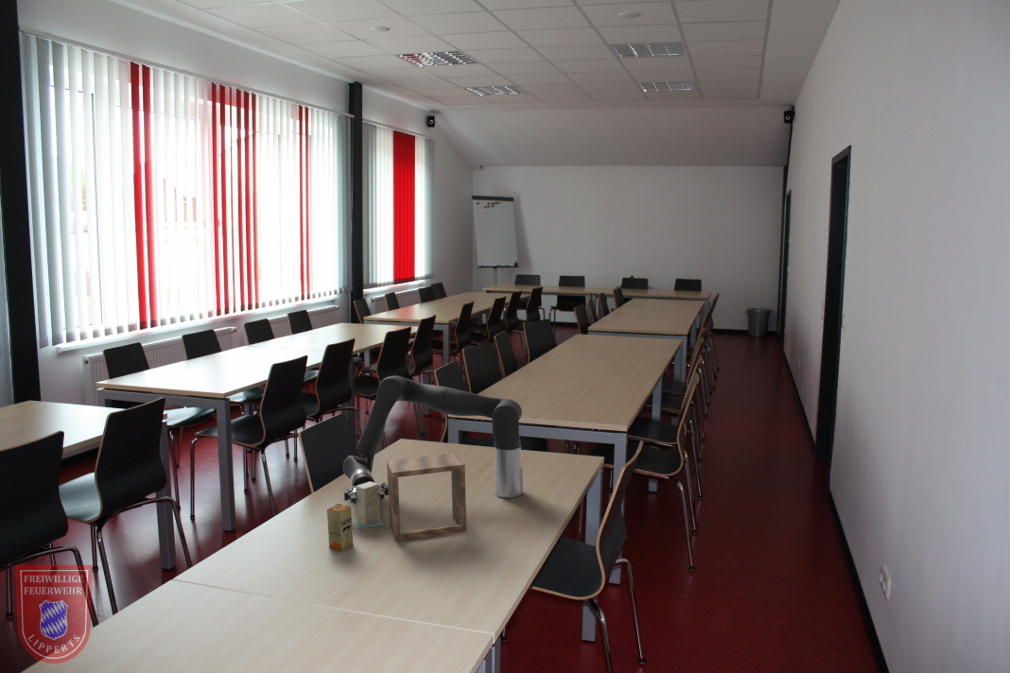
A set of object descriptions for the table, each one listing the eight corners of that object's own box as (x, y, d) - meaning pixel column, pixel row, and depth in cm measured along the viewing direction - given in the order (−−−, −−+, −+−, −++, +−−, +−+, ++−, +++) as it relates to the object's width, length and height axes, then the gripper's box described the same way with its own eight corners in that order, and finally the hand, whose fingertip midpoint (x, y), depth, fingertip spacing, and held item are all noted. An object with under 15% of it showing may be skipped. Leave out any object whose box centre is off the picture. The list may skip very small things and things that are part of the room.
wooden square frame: (457, 516, 237) (455, 452, 234) (466, 531, 226) (464, 464, 222) (389, 525, 230) (386, 460, 227) (395, 541, 219) (392, 472, 216)
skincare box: (366, 525, 230) (364, 489, 228) (356, 522, 232) (354, 486, 231) (381, 519, 235) (379, 483, 233) (371, 516, 237) (369, 480, 236)
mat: (379, 516, 238) (379, 514, 238) (383, 525, 231) (383, 524, 231) (355, 519, 236) (355, 518, 236) (357, 528, 229) (357, 527, 228)
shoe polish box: (329, 547, 215) (327, 509, 214) (340, 541, 220) (338, 503, 218) (342, 551, 213) (340, 512, 211) (353, 544, 217) (351, 506, 216)
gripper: (340, 474, 243) (345, 490, 228) (383, 469, 247) (390, 485, 232) (341, 495, 244) (346, 513, 229) (384, 490, 248) (391, 507, 233)
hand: (368, 499), depth 230 cm, fingers open, 8 cm apart
